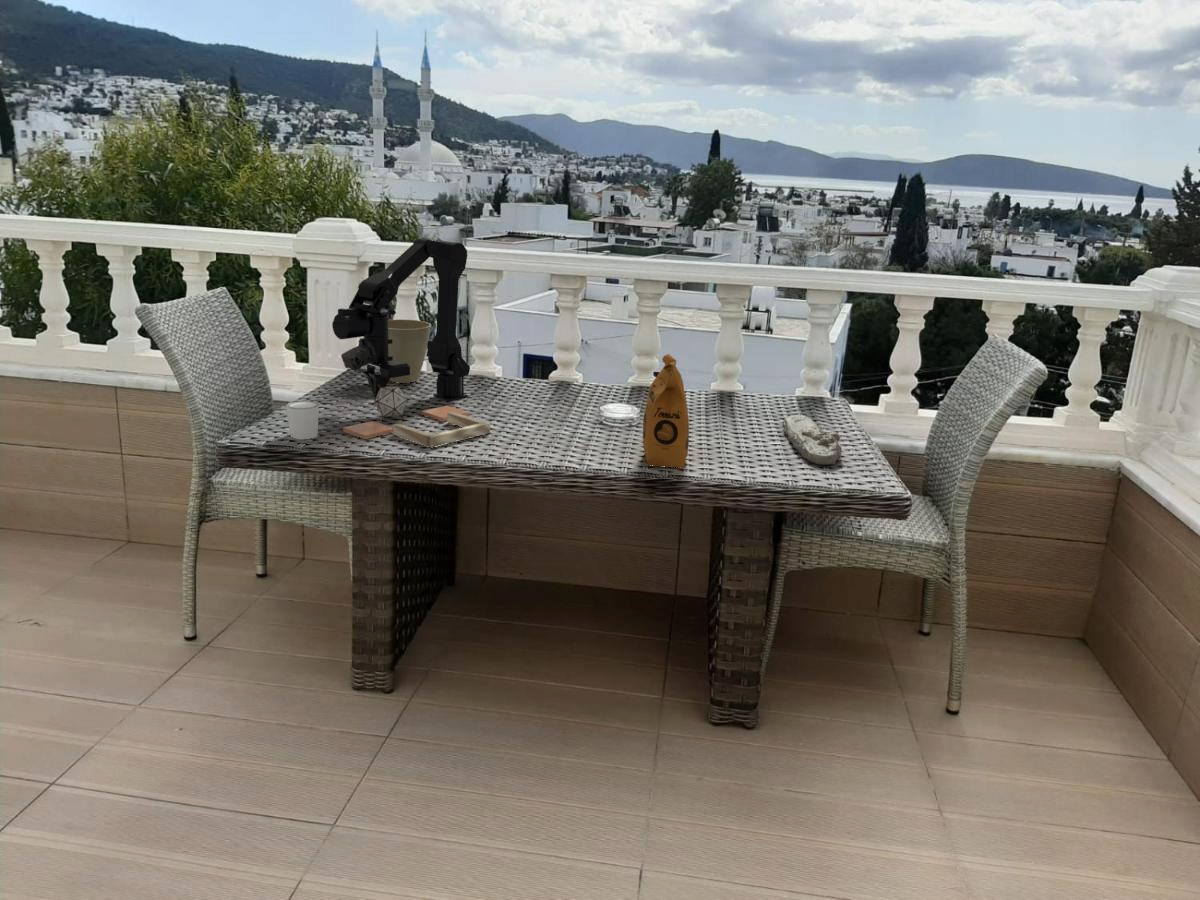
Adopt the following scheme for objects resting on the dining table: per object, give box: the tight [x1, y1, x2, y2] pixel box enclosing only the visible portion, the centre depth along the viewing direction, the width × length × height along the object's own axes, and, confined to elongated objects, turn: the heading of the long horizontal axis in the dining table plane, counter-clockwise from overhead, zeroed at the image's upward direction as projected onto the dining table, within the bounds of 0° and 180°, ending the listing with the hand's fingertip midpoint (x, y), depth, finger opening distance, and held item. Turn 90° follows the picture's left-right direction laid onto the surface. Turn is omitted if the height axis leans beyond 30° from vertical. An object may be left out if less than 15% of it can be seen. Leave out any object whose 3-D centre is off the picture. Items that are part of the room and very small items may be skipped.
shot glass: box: [285, 400, 320, 440], centre depth 195 cm, size 7×7×7 cm
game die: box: [370, 383, 412, 421], centre depth 212 cm, size 9×8×10 cm
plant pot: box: [388, 319, 432, 384], centre depth 247 cm, size 15×15×16 cm
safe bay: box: [392, 412, 491, 447], centre depth 201 cm, size 17×13×2 cm
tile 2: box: [420, 405, 470, 422], centre depth 217 cm, size 8×8×1 cm
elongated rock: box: [781, 414, 843, 466], centre depth 208 cm, size 35×5×10 cm
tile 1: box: [342, 421, 394, 440], centre depth 201 cm, size 8×8×1 cm
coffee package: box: [642, 353, 690, 469], centre depth 188 cm, size 10×12×22 cm
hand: (377, 399), depth 215 cm, fingers closed
